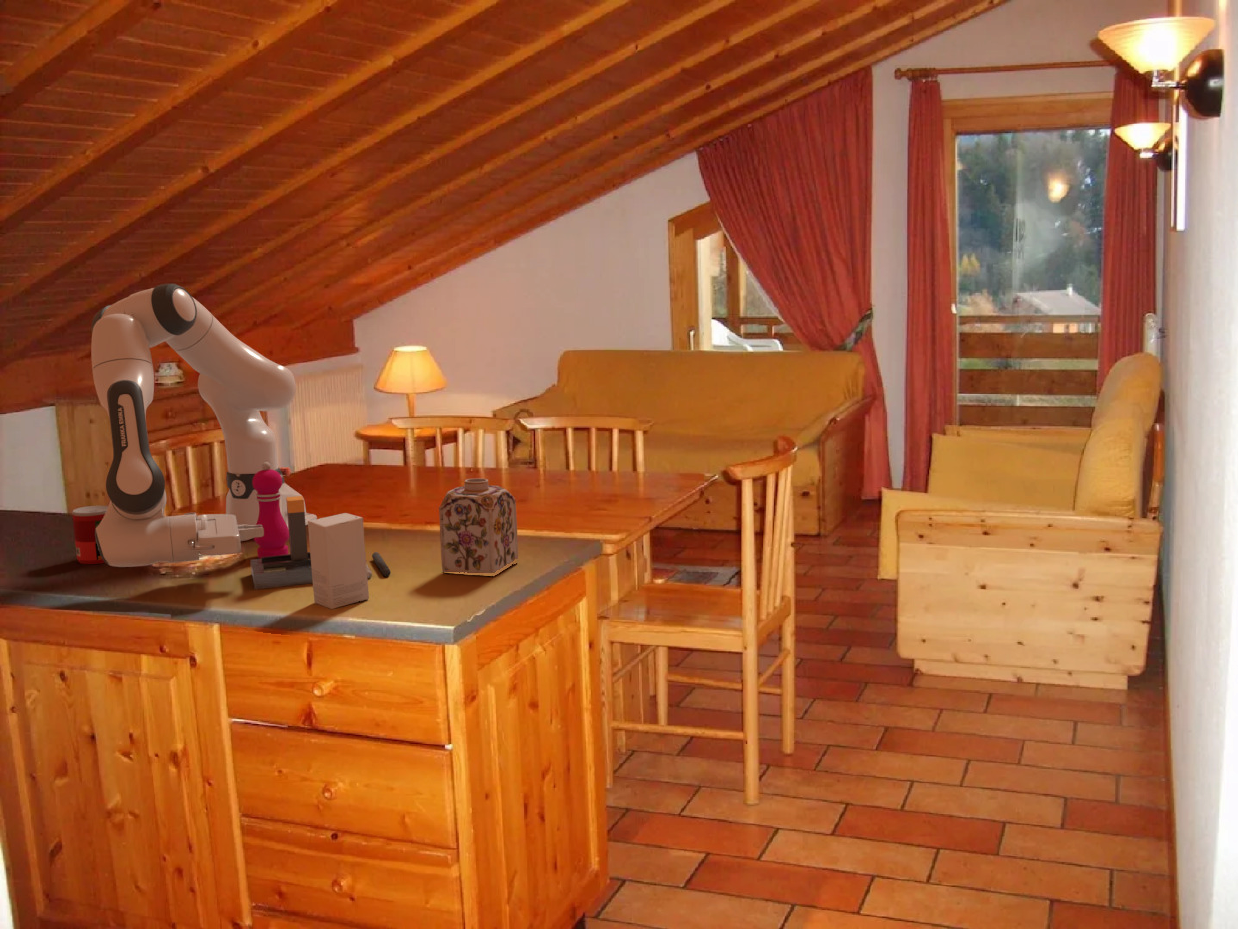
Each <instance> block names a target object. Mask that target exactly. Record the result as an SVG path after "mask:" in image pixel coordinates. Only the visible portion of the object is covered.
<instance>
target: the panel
mask: <svg viewBox="0 0 1238 929" xmlns="http://www.w3.org/2000/svg"><path fill="white" fill-rule="evenodd" d="M307 552H308V559H302V560H292V561H291V555H290V553H288V554H286V555H276V556H266V557H261V558H256V559H254V558H253V559H250V571H251V579H252V583H253V587H254V590H261V589H263V590H265V589H272V588H280V587H281V588H282V587H290V586H297V585H298V586H300V585H307V584H313V579H312V567H311V555H310V551H307Z"/></svg>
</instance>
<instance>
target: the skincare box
mask: <svg viewBox="0 0 1238 929" xmlns="http://www.w3.org/2000/svg"><path fill="white" fill-rule="evenodd" d="M307 528H308V529H307V530H308V541H309V552H310V555H311V567H312V579H313V583H312V589H313V599H314V600H313V602H314V603H315V604H317V605H320V606H322V607H324V608H328V609H330V610H334V609H337V608H340V607H345V606H347V605H351V604H355V603H359V601H360V602H364V601H367V600H369V599H370V595H369V594H370V593H369V582H368V578H367V567H366V564H367V556H366V544H365V529H364V518H363V517H362V516H358V515H354V514H352V513H348V512H343V513H339V514H334V515H330V516H326V517H325V516H324V517H321V518H317V519H315V520H310V521H308V524H307Z"/></svg>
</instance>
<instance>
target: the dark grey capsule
mask: <svg viewBox="0 0 1238 929" xmlns="http://www.w3.org/2000/svg"><path fill="white" fill-rule="evenodd" d="M371 558H372V559H373V561H374V563H375V565H376V566H377V567H378V570H380V572H381V574H382V576H384V577H389V576H390V575H391V572H392V571H391V570H390V568H389V566H388V564H387V563H386V562H385V560H384V559H383V557H382V556H381V554H380V552H377V551H375V552H373V553H372V555H371ZM366 567H367V579H371V577H372V576H373V572H372V571H371V569H370V567H369V566H368V563H366Z"/></svg>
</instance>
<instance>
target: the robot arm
mask: <svg viewBox="0 0 1238 929" xmlns="http://www.w3.org/2000/svg"><path fill="white" fill-rule="evenodd" d="M91 321H92V322H91V334H92V335H91V348H90V349H91V350H90V351H91V354H90V355H91V358H90V359H91V371H92V377H93V378H92V379H93V383H94V387H95V390H96V396H97V397H98V398H97V399H98V400H99V403H100V405H101V407H102V408H104V410H106V413H107V415H108V418H109V424H110V435H111V443H112V452H113V456H112V461H111V465H110V468H109V470H108V473H107V476H106V480H105V489H106V494H107V496H108V498H109V503H108V505H107V506H108V509H107V511H106V514H105V516H104V518H103V519H102V521H101V523H100V524H99V526H98V527H96V529H95V537H96V542H97V546H98V549H99V552H100V555H101V558H102V559H103V560H104V562H105V563H104V564H106V565H108V566H111V567H118V568H126V567H129V568H130V567H131V568H132V567H143V566H144V567H145V566H151V565H153V564H156V563H182V562H193V561H200V555H201V556H207V557H208V556H225V555H235V554H238V553H241V552H242V544H241V542H244V541H248V540H252V539H254V538H255V537H262V536H264V529H263V526H262V525H256V523H257V520H258V516H259V502H258V501H257V500H256V498H257V496H256V494H257V493H258V492H257V491H256V490H255V489H254V487H253V483H252V481H253V477H254V475H255V474H256V473H257V472H259V471H261V470H263V469H262V464H263V463H264V462H268V463H269V464H270V466H271V467H270V469H271V470H275V471H277V472H278V473H279V474H280V475H281V478H282V486H281V488H280V489H279V492H281V494H280V496H281V498H280V499H279V506H280V511H281V514H282V517H283V519H284V521H285V522H286V524H287V527H288V516H287V503H286V497H295V496H302V497H303V495H302V494H300V493H299V492H298V491H296V490H295V489H294V488H292V487H290V485H288V484H287V483H286V482H285V481H286V480H285V478H284V476H285V477H289V476H290V475H291V471H292V470H291V468H290V467H289V466H288V467H283V466H281V467H279V459H278V456H279V455H278V446H277V437H276V434H275V432H274V431H273V429H271V428H270V427H269V426H268V425H267V423H266V422H265V421H264V419H263V416H262V414H261V412H268V411H274V410H279V409H283V408H286V407H287V406H288V405H290V404H291V402H292V401H293V400H294V398H295V395H296V390H297V384H296V383H297V382H296V380H295V376H294V374H293V372H292V371H291V370H290V369H289V368H287V367H286V366H283V365H281V364H279V363H276V362H275V361H273V360H270V359H269V358H267V357H265V356H264V355H263V354H261V353H259V351H257V350H255V349H253V348H252V347H251V346H249V345H247V344H246V343H244V342H243V341H241V340H240V339H238V338H237V337H236V336H235V335H234V334H232V332H230V331H229V330H228V329H227V328H226V327H225V326H224V325H223V324H222V323H221V322H220V321H219V320H218V319H217V318H216V317H215V316H214V315H213V314H212V312H210V311H209V310H208V309H207V308H206V307H205V306H204V305H203V304H201V303H200V302H199V301H198V300H197V298H196V299H195V298H194V297H193V296H192V295H191V293H190V292H189V291H188V290H186V289H185V287H182V286H180V285H179V284H177V283H161V284H159V285H156V286H155V287H151V288H149V289H144V290H140V291H137V292H134V293H132V294H130V295H129V296H128V297H125V298H123V299H120V300H118V301H116V302H115V303H112V304H109V305H106V306H105V307H104V306H103V308H101V309H99V310H98V311H97V312H96V313H95V315H94V316H93V318H92V320H91ZM164 342H166V344H167V345H168V346H169V347H170V348H171V349H172V350H174V352H175V353H176V354H178V356H179V357H180V358H182V359H183V360H184V361H185V362H186V364H188V365H189V366H190V367H191V368H192V369H193V370H194V371H196V372H197V373H199V375H198V378H197V379H198V380H197V389H198V393H199V395H200V396H201V398H202V400H204V401H205V403H207V404H208V406H210V408H211V409H212V411H213V413H214V416H216V419H217V422H218V423H219V426H220V428H221V431H222V435H223V438H224V444H225V445H224V446H225V453H226V460H227V461H226V462H227V471H226V478H225V479H226V486H227V489H228V492H227V494H226V497H225V499H226V500H225V513H219V514H218V513H215V514H214V513H213V514H212V513H211V514H210V513H209V514H208V513H207V514H199V515H197V513H196V512H187V513H184V514H180V515H179V514H178V515H171V516H170V515H169V516H166V515H164V514H165V510H166V509H165V508H166V505H167V494H166V492H167V491H166V488H165V487H166V480H165V477H164V474H163V471H162V469H161V468H160V466H159V465H158V464H157V462H156V461H155V458H153V455H152V453H151V449H150V443H149V434H148V427H147V420H146V418H147V416H146V415H147V409H148V407H149V406H150V405H151V404H152V402H153V400H154V396H155V395H154V393H155V373H154V364H153V359H152V354H151V350H150V349H151V348H154V347H156V346H158V345H160V344H162V343H164ZM303 499H304V511H305V524H306V526H308V521H310V520H315V519H318V517H317V515H316V514H314V513H309V512H307V509H306V503H305V498H304V497H303ZM288 530H289V529H288Z"/></svg>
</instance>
